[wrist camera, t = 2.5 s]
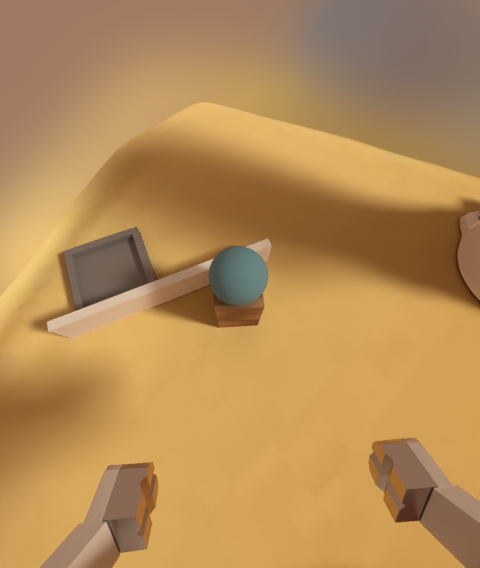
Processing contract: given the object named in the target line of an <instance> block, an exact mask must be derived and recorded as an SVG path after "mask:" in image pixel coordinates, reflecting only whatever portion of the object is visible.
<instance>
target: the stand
mask: <svg viewBox="0 0 480 568" xmlns="http://www.w3.org/2000/svg"><path fill="white" fill-rule="evenodd" d="M214 305H215V313H216V317H217V322H218V326H219V328H221V327H236V326H252V325H258V322H259V320H260V317H261V314H262V312H263V309H264V300H263V293H262V295H261V296H260V297H259V298H258V299H256V300H255V301H254V302H252V303H250V304H247V305H242V306H234V305H230V304H227V303H225V302H223V301H221V300H220V299H219V298H218V297H217V296H216V295H215V294H214Z"/></svg>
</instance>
